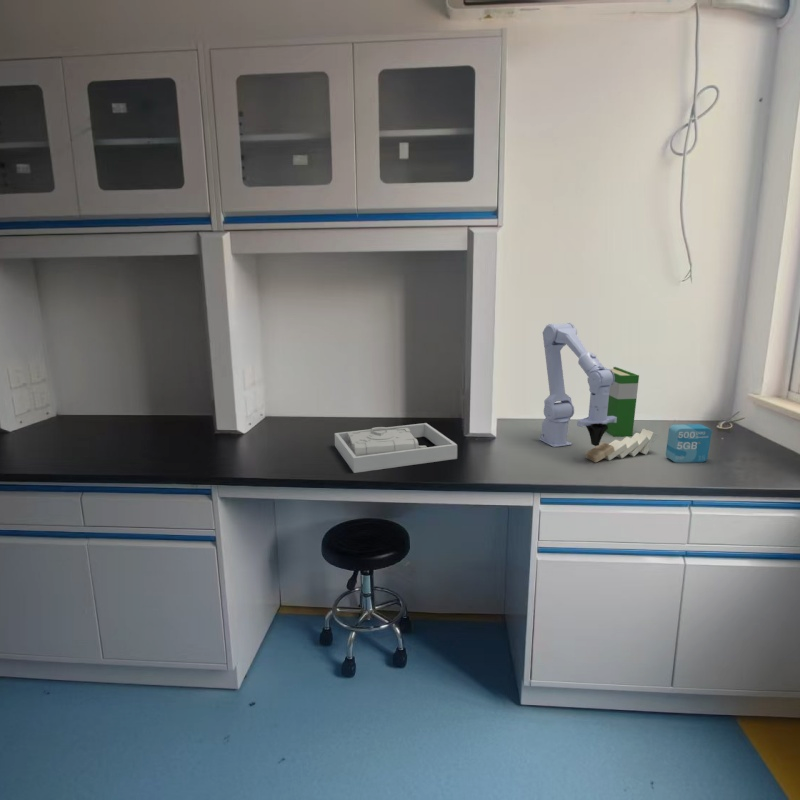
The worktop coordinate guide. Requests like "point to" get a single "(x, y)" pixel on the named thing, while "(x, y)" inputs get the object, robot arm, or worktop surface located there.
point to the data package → (688, 443)
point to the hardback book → (622, 402)
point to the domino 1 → (599, 452)
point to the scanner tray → (440, 452)
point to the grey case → (382, 441)
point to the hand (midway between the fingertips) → (594, 444)
